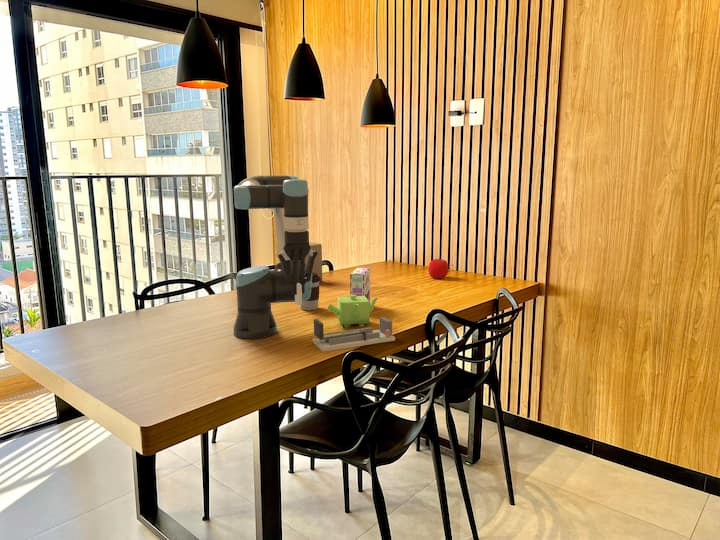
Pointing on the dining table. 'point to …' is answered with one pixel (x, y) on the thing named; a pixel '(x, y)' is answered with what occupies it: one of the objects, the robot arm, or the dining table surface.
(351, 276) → the candy box
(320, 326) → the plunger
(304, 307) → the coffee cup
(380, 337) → the base
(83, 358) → the dining table surface
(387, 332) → the small salmon eraser
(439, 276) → the tomato
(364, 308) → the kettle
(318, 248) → the wooden block
